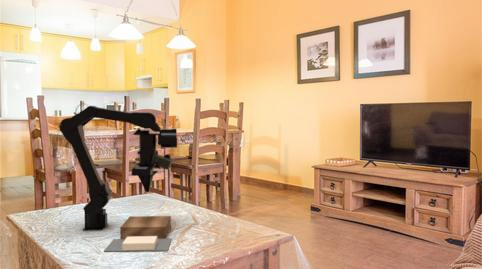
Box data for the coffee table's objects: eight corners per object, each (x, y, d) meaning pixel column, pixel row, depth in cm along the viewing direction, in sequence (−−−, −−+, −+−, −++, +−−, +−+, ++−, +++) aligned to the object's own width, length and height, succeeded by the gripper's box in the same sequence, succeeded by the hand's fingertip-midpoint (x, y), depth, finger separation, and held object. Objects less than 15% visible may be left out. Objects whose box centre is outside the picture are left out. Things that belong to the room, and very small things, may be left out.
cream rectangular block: (127, 236, 109) (127, 243, 109) (122, 243, 103) (122, 250, 103) (157, 236, 110) (157, 242, 110) (154, 243, 104) (154, 249, 104)
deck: (120, 239, 113) (120, 227, 113) (129, 227, 125) (129, 216, 125) (165, 239, 114) (165, 226, 114) (170, 227, 126) (170, 216, 126)
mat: (103, 252, 103) (103, 250, 103) (113, 239, 113) (113, 238, 113) (167, 251, 104) (167, 250, 104) (172, 239, 114) (171, 238, 114)
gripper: (165, 150, 118) (165, 198, 119) (175, 145, 136) (175, 186, 137) (131, 150, 118) (131, 197, 118) (145, 145, 136) (145, 186, 137)
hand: (147, 191), depth 128 cm, fingers closed
